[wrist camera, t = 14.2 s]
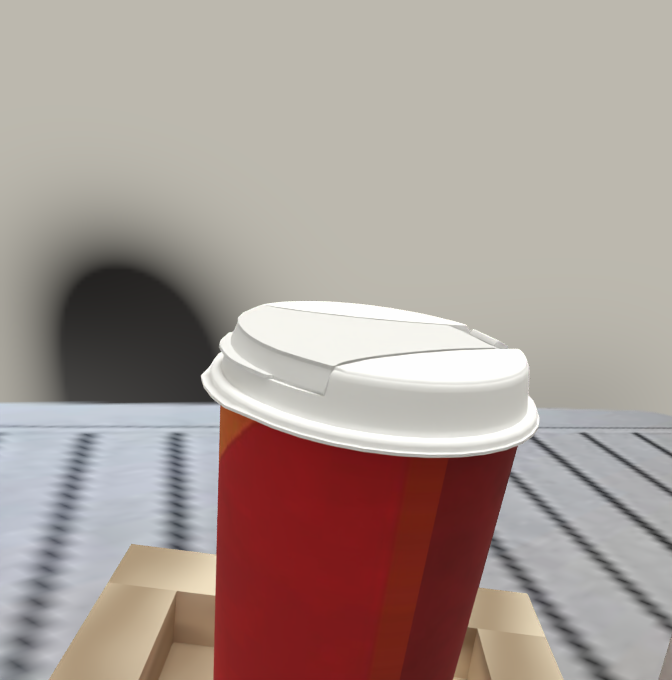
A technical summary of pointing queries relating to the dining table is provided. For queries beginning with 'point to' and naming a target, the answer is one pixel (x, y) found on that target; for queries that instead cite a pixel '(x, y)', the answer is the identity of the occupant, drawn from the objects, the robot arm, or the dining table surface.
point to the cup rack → (199, 623)
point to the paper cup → (357, 488)
